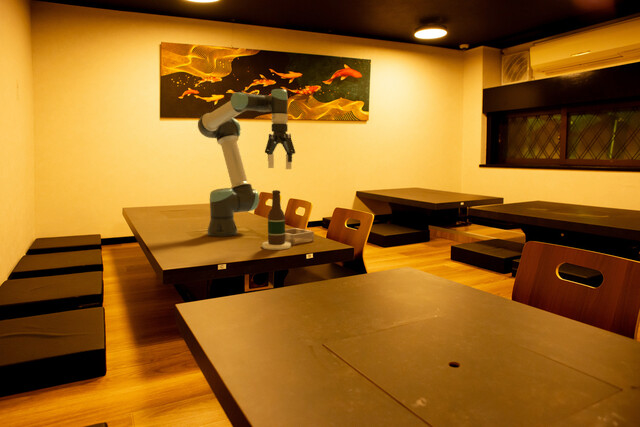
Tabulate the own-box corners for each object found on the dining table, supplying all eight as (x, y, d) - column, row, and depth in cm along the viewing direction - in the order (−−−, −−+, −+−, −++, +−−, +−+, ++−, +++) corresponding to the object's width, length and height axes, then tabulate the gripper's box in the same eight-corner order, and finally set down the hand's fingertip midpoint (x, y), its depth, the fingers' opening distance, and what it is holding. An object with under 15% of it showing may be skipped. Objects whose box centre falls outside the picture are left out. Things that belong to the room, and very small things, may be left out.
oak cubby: (274, 240, 213) (274, 231, 212) (295, 236, 222) (295, 227, 221) (292, 244, 203) (292, 235, 203) (313, 240, 213) (313, 231, 212)
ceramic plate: (256, 246, 199) (256, 243, 199) (278, 242, 208) (278, 239, 208) (274, 251, 190) (274, 247, 189) (296, 246, 199) (296, 243, 198)
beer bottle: (286, 241, 202) (286, 189, 198) (283, 245, 194) (283, 191, 191) (270, 241, 203) (269, 189, 199) (266, 244, 195) (265, 191, 192)
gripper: (257, 123, 213) (257, 167, 216) (290, 122, 195) (290, 169, 198) (269, 124, 218) (270, 167, 221) (303, 122, 200) (302, 169, 204)
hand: (279, 168), depth 210 cm, fingers open, 13 cm apart
